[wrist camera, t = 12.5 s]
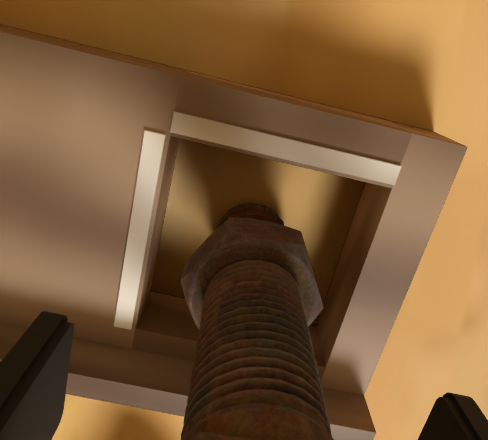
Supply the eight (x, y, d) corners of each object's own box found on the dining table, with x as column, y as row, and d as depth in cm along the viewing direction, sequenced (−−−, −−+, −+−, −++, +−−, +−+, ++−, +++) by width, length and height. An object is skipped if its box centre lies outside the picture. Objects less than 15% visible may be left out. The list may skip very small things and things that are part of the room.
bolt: (177, 272, 21) (34, 749, 7) (196, 167, 19) (54, 519, 5) (300, 295, 21) (407, 790, 7) (330, 195, 19) (550, 591, 5)
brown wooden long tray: (343, 367, 22) (367, 451, 18) (-297, 236, 20) (-461, 293, 16) (434, 131, 18) (497, 160, 14) (-360, -65, 16) (-607, -111, 11)
